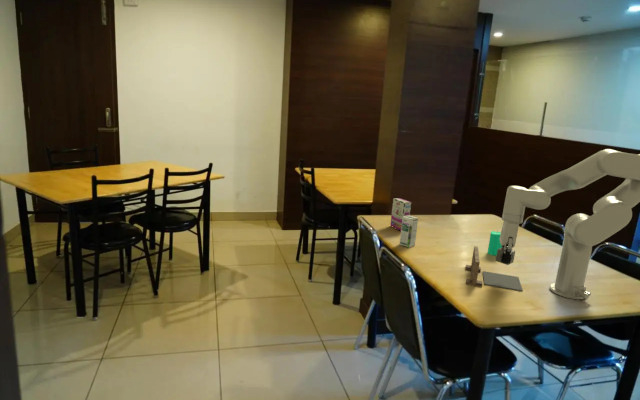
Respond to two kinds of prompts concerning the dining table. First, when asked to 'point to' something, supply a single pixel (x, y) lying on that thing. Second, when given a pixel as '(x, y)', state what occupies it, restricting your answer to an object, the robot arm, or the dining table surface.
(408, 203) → the candy bar box
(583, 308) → the dining table surface
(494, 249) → the candle
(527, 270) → the dining table surface
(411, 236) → the syrup box
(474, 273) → the walnut screen
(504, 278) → the grey mat
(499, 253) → the dice cube
